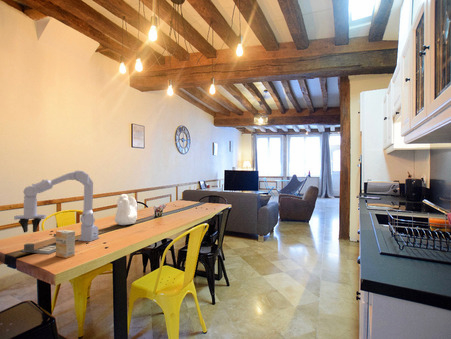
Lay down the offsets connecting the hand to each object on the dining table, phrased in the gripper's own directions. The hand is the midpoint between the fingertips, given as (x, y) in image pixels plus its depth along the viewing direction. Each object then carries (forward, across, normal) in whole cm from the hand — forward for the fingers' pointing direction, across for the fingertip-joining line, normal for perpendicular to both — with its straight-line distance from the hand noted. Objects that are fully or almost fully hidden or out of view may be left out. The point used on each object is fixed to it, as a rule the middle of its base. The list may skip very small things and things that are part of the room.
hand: (30, 231), depth 135 cm
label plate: (+9, -9, +2) cm, 13 cm away
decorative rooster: (+10, -42, -54) cm, 70 cm away
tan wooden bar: (+8, -7, +1) cm, 11 cm away
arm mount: (+9, -10, -6) cm, 15 cm away
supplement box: (+10, -24, +15) cm, 30 cm away
